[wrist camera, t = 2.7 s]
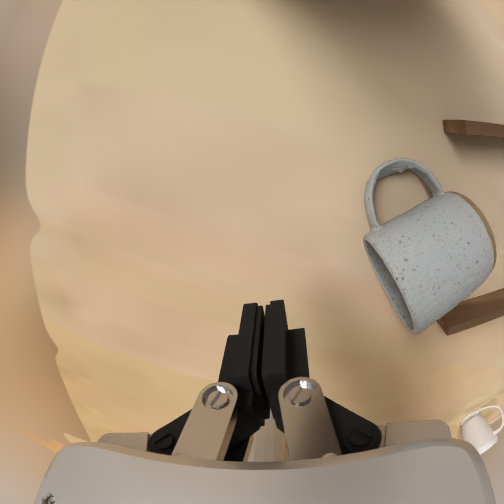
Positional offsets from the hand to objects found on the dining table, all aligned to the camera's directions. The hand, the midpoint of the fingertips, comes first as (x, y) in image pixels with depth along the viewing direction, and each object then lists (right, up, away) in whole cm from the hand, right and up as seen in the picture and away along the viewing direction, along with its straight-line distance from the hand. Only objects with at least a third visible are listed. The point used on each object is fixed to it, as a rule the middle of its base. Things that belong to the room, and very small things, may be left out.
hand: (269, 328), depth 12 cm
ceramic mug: (+11, +5, +8) cm, 15 cm away
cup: (+40, -26, +19) cm, 51 cm away
